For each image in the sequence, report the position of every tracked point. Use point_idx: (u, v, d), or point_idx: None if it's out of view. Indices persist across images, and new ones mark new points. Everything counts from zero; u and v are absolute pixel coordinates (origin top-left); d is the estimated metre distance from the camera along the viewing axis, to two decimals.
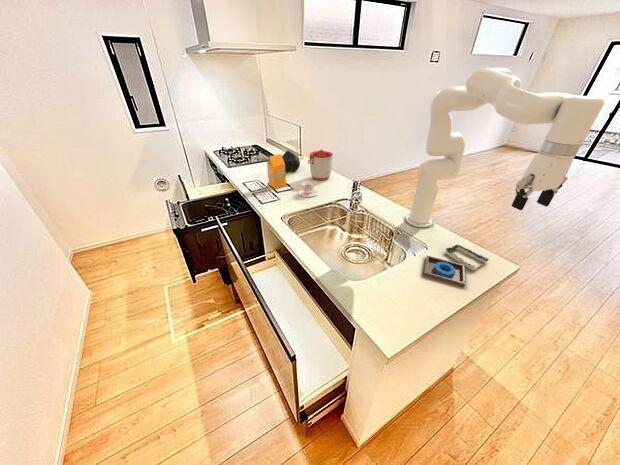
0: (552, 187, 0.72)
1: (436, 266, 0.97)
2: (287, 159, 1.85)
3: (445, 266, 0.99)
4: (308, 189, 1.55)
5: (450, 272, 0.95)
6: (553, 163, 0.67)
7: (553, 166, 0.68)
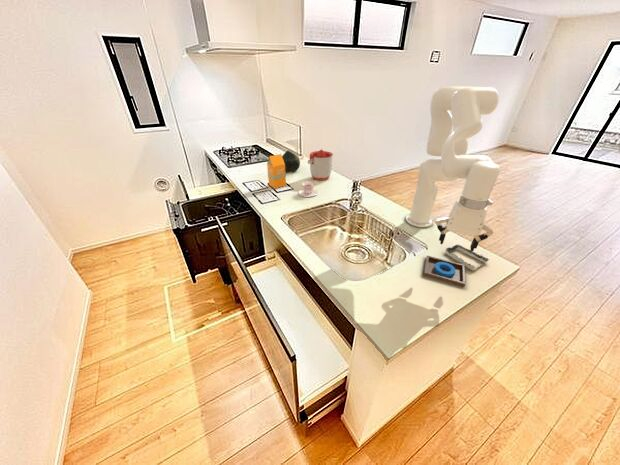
0: (468, 233, 0.85)
1: (436, 266, 0.97)
2: (287, 159, 1.85)
3: (445, 266, 0.99)
4: (308, 189, 1.55)
5: (450, 272, 0.95)
6: (459, 211, 0.82)
7: (460, 213, 0.83)
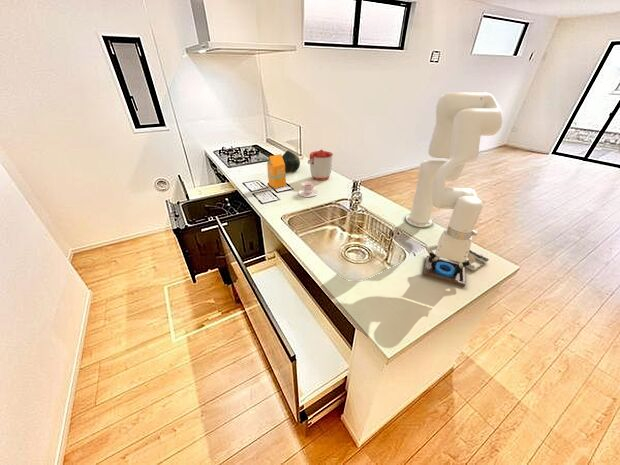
0: (455, 259, 0.91)
1: (436, 266, 0.97)
2: (287, 159, 1.85)
3: (445, 266, 0.99)
4: (308, 189, 1.55)
5: (450, 272, 0.95)
6: (446, 239, 0.89)
7: (447, 242, 0.89)
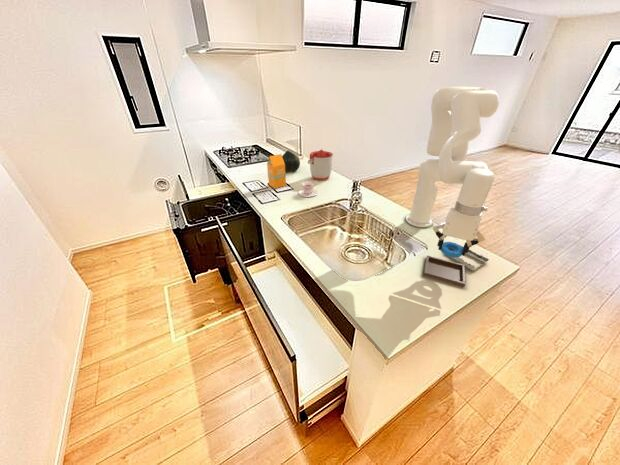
0: (463, 238, 0.87)
1: (443, 246, 0.93)
2: (287, 159, 1.85)
3: (452, 246, 0.94)
4: (308, 189, 1.55)
5: (458, 252, 0.90)
6: (454, 216, 0.84)
7: (455, 219, 0.84)
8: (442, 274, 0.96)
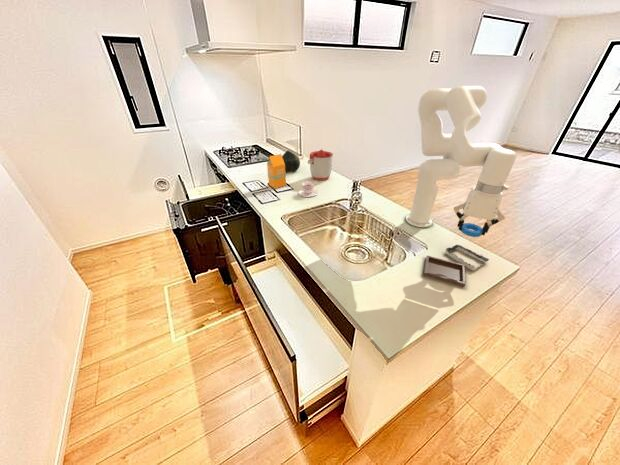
0: (484, 217, 0.90)
1: (463, 226, 0.96)
2: (287, 159, 1.85)
3: (472, 227, 0.98)
4: (308, 189, 1.55)
5: (478, 231, 0.94)
6: (476, 195, 0.88)
7: (476, 198, 0.88)
8: (442, 274, 0.96)
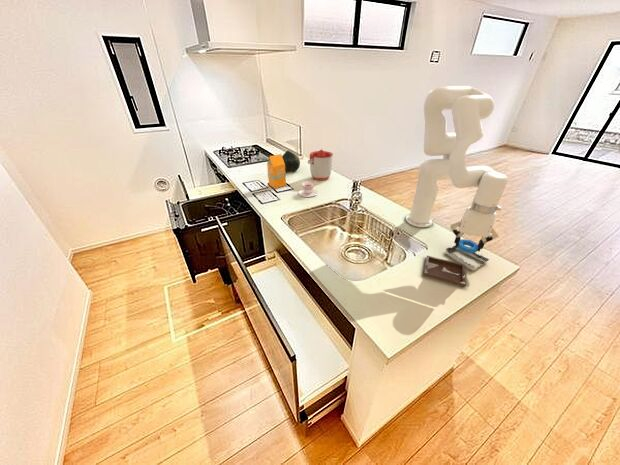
0: (479, 235, 0.96)
1: (459, 243, 1.02)
2: (287, 159, 1.85)
3: (468, 243, 1.03)
4: (308, 189, 1.55)
5: (473, 248, 0.99)
6: (471, 215, 0.93)
7: (471, 217, 0.94)
8: (442, 274, 0.96)
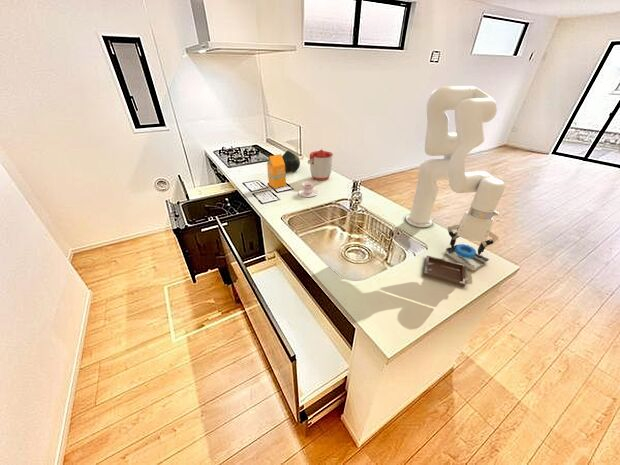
0: (476, 239, 0.97)
1: (457, 248, 1.03)
2: (287, 159, 1.85)
3: (465, 248, 1.04)
4: (308, 189, 1.55)
5: (471, 253, 1.00)
6: (469, 220, 0.95)
7: (469, 222, 0.95)
8: (442, 274, 0.96)
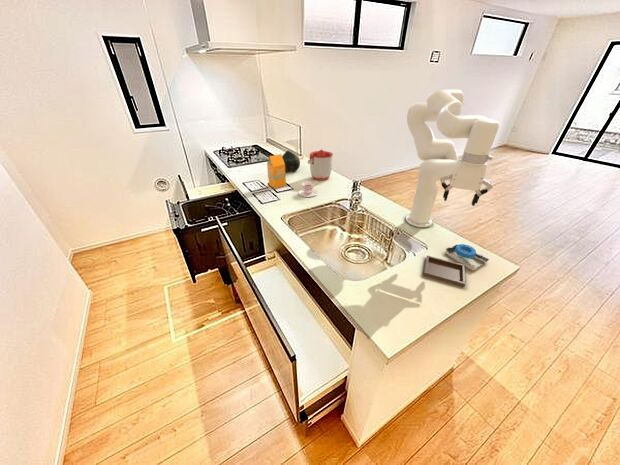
0: (470, 188, 0.93)
1: (457, 248, 1.03)
2: (287, 159, 1.85)
3: (465, 248, 1.04)
4: (308, 189, 1.55)
5: (471, 253, 1.00)
6: (462, 166, 0.91)
7: (462, 169, 0.91)
8: (442, 274, 0.96)
